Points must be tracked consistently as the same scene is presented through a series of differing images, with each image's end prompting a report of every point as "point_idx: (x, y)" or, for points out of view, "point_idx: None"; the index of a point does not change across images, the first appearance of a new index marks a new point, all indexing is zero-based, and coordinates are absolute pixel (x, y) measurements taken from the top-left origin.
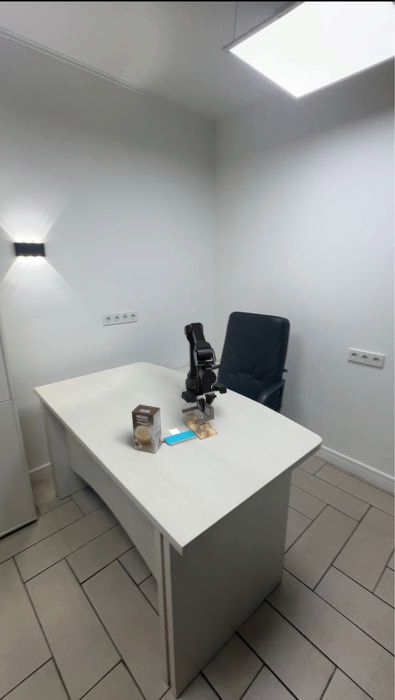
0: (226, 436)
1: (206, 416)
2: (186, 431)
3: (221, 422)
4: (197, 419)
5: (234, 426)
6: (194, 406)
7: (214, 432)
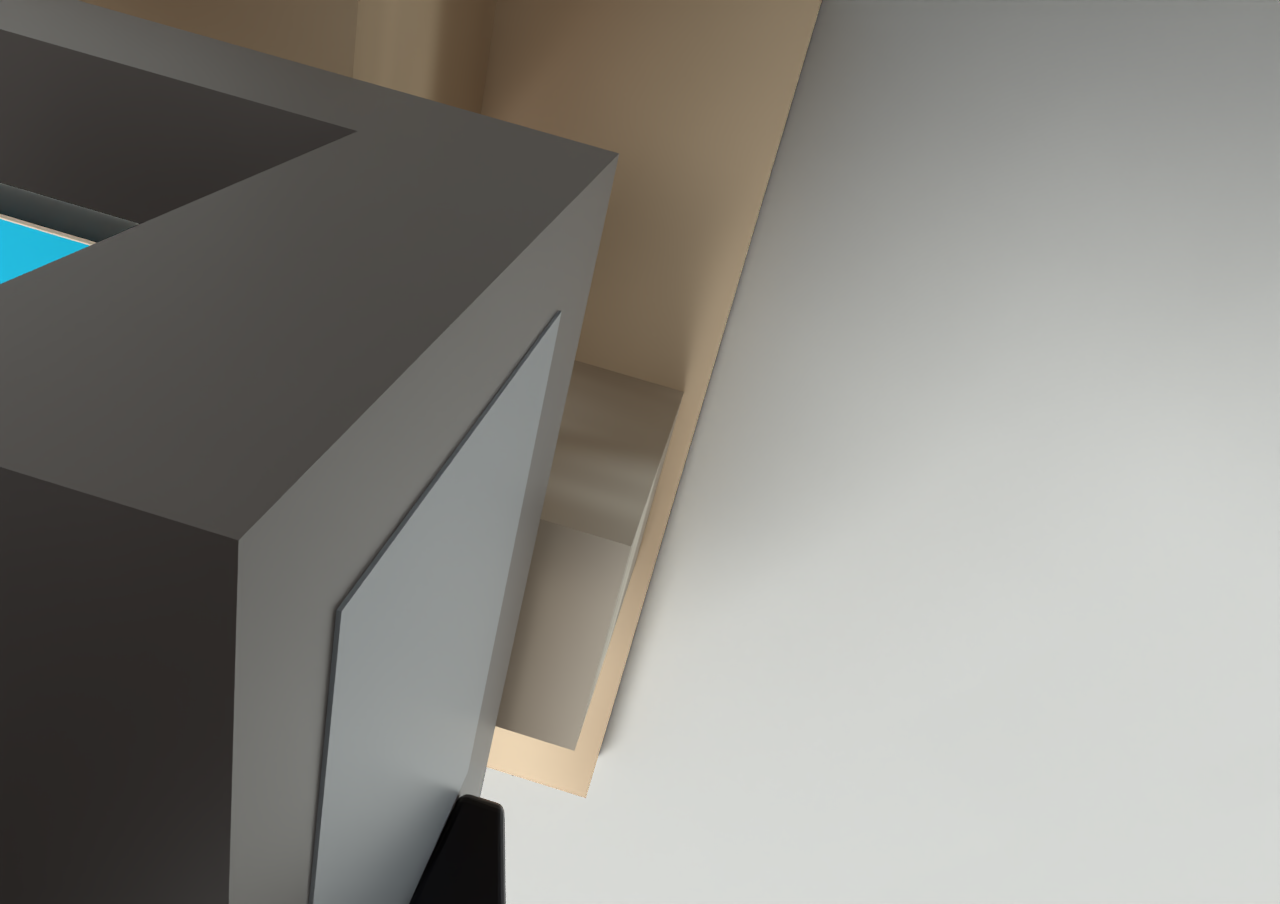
0: (662, 891)
1: (544, 627)
2: (48, 254)
3: (1092, 564)
4: (642, 2)
5: (1103, 853)
6: (179, 111)
7: (520, 764)
